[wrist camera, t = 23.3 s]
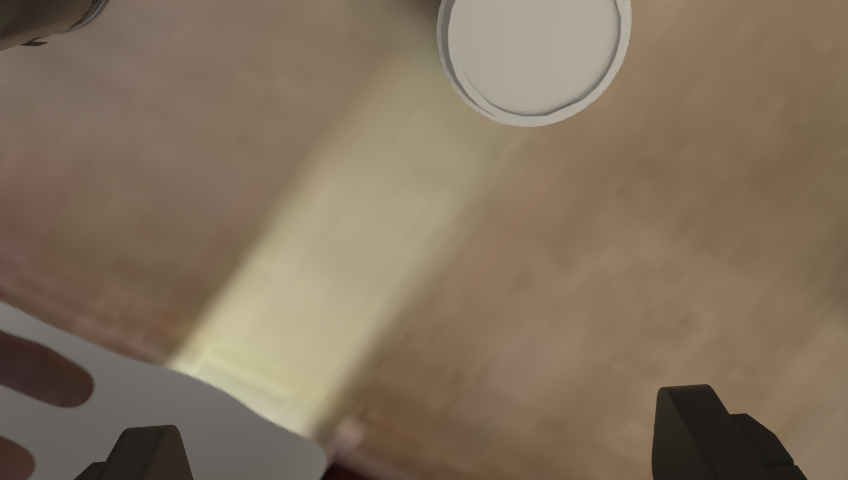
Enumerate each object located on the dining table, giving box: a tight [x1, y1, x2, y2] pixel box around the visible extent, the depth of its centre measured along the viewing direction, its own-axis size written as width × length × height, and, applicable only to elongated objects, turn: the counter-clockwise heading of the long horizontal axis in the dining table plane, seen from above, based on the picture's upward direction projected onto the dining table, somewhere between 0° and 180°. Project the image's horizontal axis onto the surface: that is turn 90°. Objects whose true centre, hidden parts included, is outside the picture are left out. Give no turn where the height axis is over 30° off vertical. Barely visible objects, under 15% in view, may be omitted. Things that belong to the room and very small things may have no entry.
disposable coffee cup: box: [437, 0, 632, 127], centre depth 37 cm, size 10×10×12 cm
